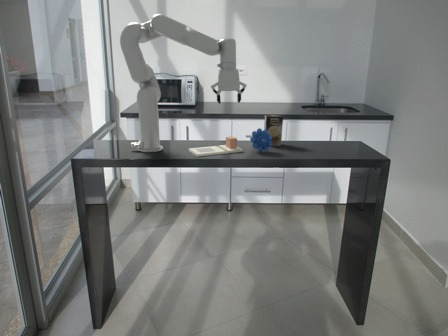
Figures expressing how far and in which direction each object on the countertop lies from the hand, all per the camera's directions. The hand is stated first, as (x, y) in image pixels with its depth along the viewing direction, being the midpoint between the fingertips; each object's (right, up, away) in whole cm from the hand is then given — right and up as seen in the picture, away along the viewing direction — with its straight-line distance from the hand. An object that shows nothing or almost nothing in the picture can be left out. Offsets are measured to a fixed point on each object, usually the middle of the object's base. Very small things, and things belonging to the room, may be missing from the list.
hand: (229, 102), depth 174 cm
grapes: (+16, -24, +5) cm, 30 cm away
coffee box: (+24, -19, +22) cm, 38 cm away
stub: (+1, -23, +9) cm, 24 cm away
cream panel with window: (-11, -24, +4) cm, 26 cm away
